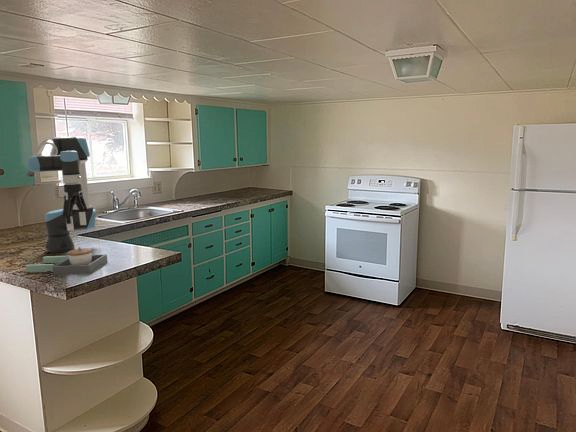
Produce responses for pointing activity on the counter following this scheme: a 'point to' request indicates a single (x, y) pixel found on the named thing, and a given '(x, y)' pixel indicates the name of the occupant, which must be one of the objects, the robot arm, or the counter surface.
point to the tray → (79, 266)
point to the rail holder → (46, 266)
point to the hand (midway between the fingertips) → (77, 227)
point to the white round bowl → (80, 256)
